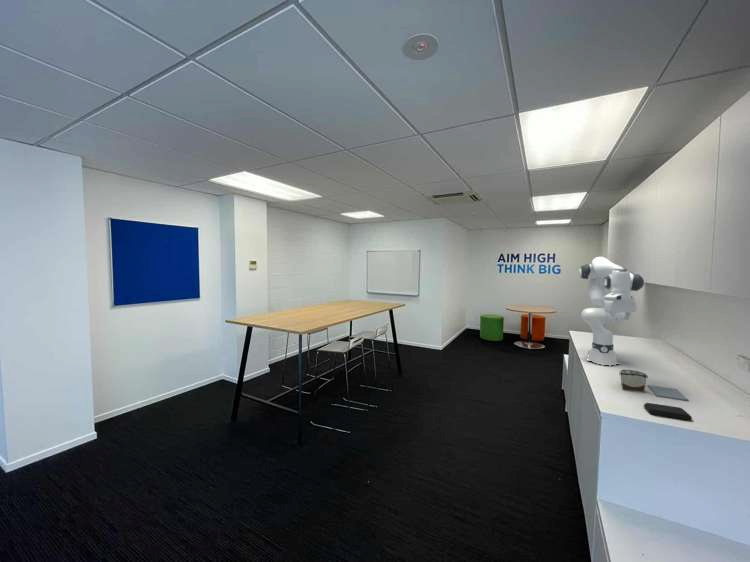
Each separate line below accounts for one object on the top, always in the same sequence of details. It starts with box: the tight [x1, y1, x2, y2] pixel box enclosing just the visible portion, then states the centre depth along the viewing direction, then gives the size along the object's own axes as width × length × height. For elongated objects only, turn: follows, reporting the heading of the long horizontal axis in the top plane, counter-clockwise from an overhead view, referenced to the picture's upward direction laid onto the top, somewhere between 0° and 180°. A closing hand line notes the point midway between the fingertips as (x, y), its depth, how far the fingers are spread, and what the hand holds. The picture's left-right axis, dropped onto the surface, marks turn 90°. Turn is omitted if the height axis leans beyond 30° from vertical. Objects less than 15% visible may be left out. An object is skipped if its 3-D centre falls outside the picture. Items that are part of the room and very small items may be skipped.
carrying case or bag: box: [643, 402, 693, 421], centre depth 137 cm, size 11×3×15 cm
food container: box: [618, 369, 649, 393], centre depth 164 cm, size 12×6×10 cm, turn 66°
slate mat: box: [647, 384, 690, 402], centre depth 158 cm, size 15×12×1 cm
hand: (620, 320), depth 172 cm, fingers open, 8 cm apart
